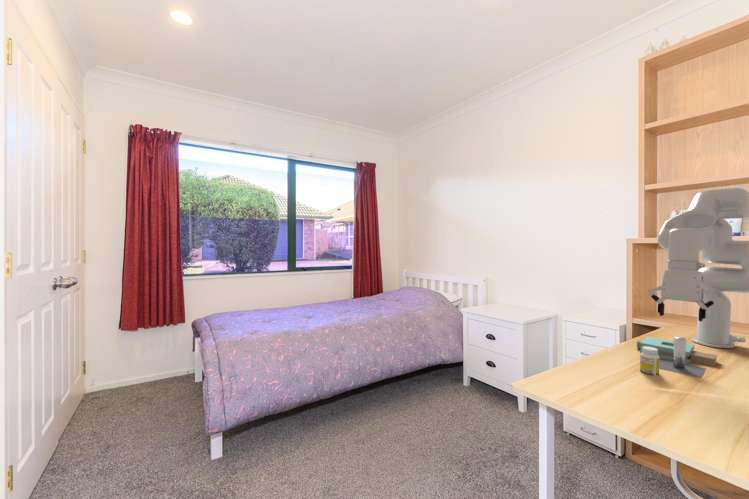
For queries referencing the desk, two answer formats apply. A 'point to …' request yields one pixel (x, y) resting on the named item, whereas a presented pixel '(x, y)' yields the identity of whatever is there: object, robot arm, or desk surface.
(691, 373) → the rubber mat
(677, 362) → the steel pin
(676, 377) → the desk surface
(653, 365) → the supplement bottle
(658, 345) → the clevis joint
